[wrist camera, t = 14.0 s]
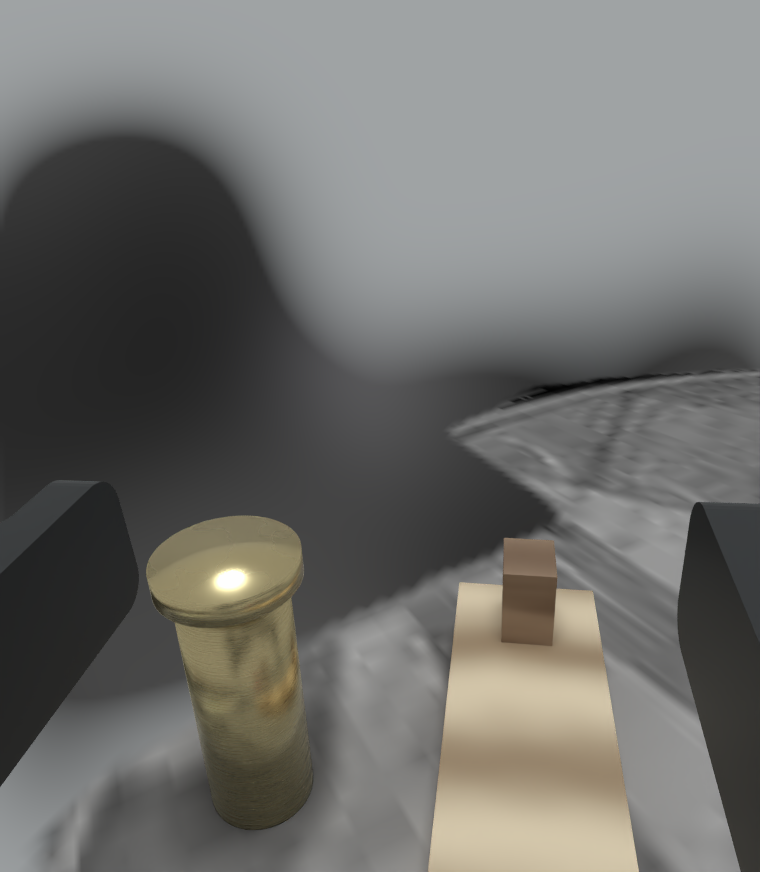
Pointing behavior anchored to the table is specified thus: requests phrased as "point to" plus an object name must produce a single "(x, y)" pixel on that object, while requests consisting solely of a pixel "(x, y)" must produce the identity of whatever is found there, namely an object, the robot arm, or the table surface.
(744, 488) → the table surface
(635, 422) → the table surface
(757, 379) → the table surface
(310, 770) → the brass flanged cylinder
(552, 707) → the body
